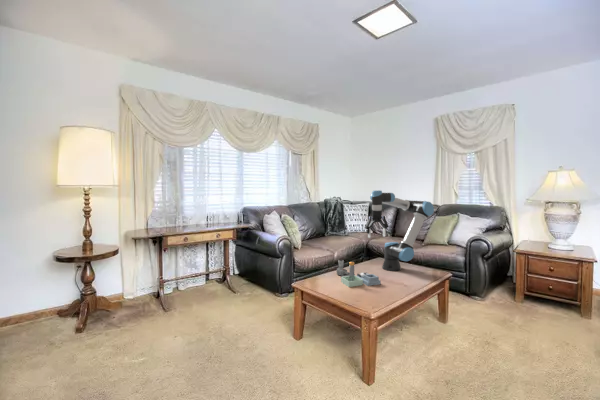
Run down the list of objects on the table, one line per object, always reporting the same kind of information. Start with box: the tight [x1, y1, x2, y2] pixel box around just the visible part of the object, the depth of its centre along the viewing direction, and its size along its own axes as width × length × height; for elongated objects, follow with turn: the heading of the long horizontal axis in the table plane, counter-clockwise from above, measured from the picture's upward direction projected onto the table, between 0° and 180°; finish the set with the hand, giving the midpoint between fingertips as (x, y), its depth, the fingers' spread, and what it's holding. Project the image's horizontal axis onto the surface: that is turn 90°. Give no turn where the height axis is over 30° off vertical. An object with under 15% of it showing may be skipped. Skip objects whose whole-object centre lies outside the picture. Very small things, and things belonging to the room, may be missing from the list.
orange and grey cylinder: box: [349, 261, 355, 281], centre depth 214 cm, size 4×4×15 cm
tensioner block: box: [356, 272, 381, 287], centre depth 219 cm, size 17×11×6 cm, turn 19°
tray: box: [340, 274, 364, 288], centre depth 215 cm, size 12×12×4 cm
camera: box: [336, 259, 356, 278], centre depth 232 cm, size 9×12×15 cm
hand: (376, 237), depth 228 cm, fingers open, 13 cm apart
